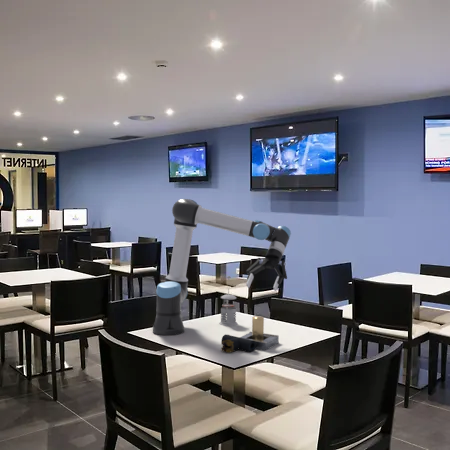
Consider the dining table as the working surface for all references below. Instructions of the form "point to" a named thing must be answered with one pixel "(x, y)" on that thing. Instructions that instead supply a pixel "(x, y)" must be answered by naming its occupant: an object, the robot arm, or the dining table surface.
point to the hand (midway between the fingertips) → (260, 287)
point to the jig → (264, 341)
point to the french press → (228, 311)
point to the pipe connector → (237, 344)
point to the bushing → (257, 328)
